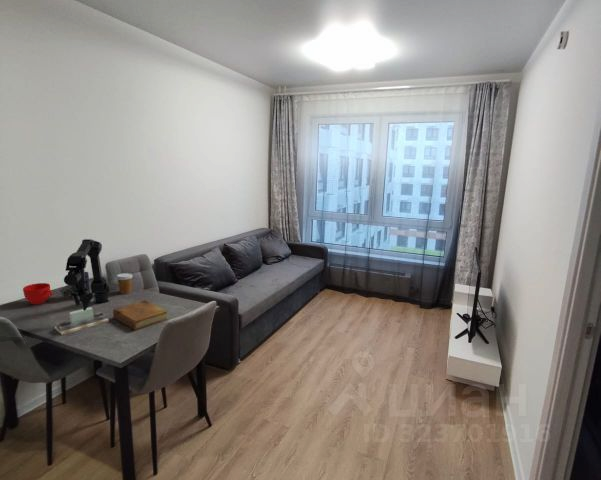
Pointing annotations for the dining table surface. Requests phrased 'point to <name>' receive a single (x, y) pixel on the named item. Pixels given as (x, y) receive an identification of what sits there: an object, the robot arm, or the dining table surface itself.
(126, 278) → the disposable coffee cup
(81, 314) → the pale green rectangular box
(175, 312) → the dining table surface
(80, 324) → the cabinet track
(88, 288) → the storage jar
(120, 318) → the diary
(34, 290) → the ceramic cup
